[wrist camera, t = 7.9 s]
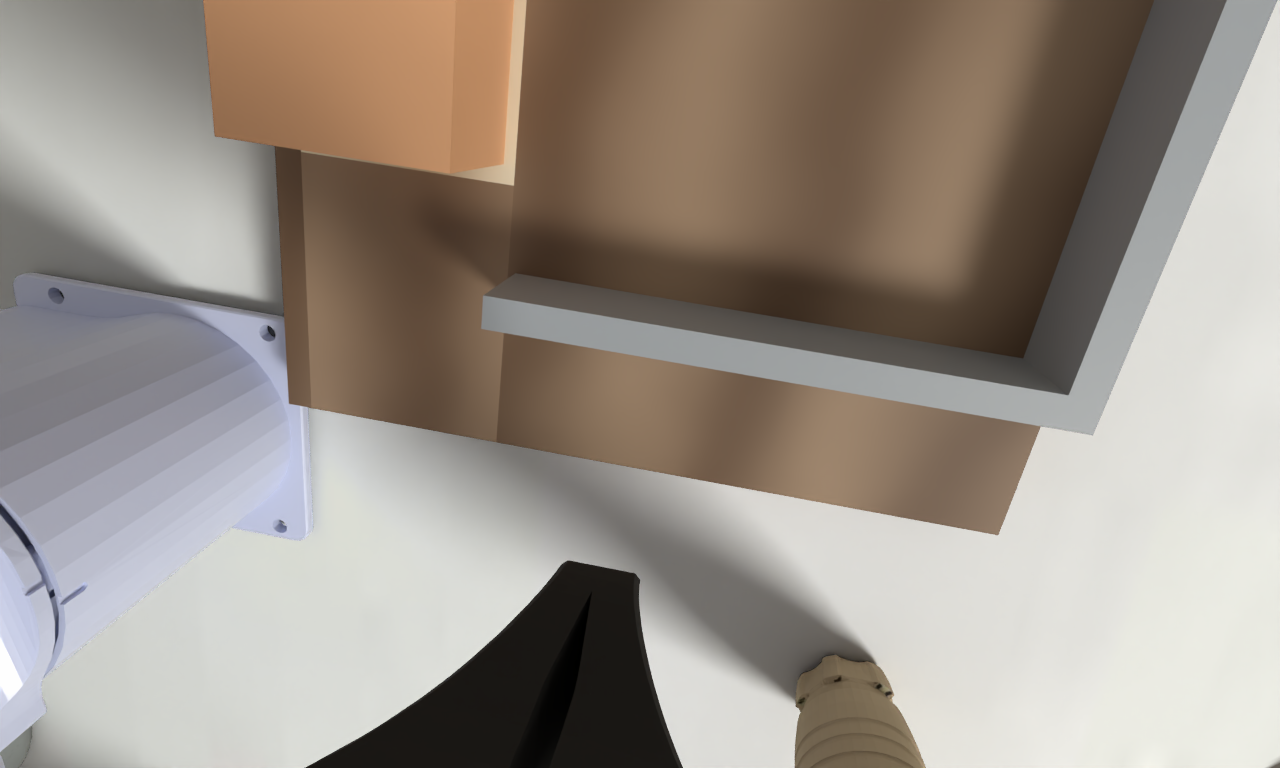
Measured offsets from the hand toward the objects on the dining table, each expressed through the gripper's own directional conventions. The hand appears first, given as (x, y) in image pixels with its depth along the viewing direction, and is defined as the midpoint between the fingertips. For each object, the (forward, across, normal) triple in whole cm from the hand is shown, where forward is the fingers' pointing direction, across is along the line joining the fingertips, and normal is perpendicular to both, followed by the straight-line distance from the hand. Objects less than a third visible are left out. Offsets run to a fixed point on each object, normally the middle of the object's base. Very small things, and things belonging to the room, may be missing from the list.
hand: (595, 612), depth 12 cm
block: (+7, +7, -9) cm, 14 cm away
